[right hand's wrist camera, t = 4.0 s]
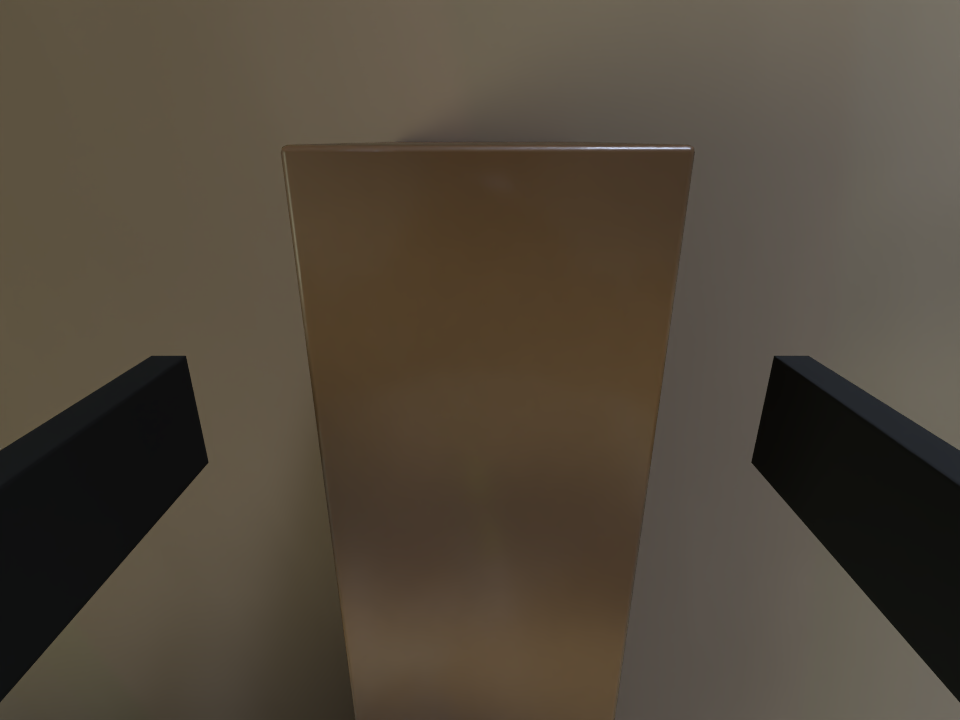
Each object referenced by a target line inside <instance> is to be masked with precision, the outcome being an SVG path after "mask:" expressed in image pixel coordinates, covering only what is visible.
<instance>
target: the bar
mask: <svg viewBox="0 0 960 720" xmlns="http://www.w3.org/2000/svg"><path fill="white" fill-rule="evenodd" d="M694 153H695V152H694V148H693V147H692V146H690V145H672V144H631V143H591V142H378V143H340V144H303V145H286V146H284V147H282V151H281V156H282V164H283V172H284V179H285V187H286V195H287V202H288V210H289V217H290V225H291V233H292V240H293V248H294V256H295V263H296V271H297V279H298V286H299V294H300V302H301V309H302V317H303V324H304V332H305V340H306V347H307V355H308V363H309V370H310V378H311V386H312V393H313V401H314V408H315V416H316V424H317V431H318V439H319V447H320V454H321V462H322V470H323V477H324V485H325V493H326V500H327V508H328V515H329V523H330V531H331V538H332V546H333V554H334V561H335V569H336V577H337V584H338V592H339V600H340V607H341V615H342V622H343V630H344V638H345V645H346V653H347V661H348V668H349V676H350V684H351V691H352V699H353V706H354V714H355V720H615V713H616V706H617V699H618V692H619V685H620V678H621V671H622V663H623V656H624V649H625V642H626V635H627V628H628V621H629V614H630V607H631V600H632V593H633V585H634V578H635V571H636V564H637V557H638V550H639V543H640V536H641V529H642V522H643V515H644V507H645V500H646V493H647V486H648V479H649V472H650V465H651V458H652V451H653V444H654V437H655V430H656V422H657V415H658V408H659V401H660V394H661V387H662V380H663V373H664V366H665V359H666V352H667V344H668V337H669V330H670V323H671V316H672V309H673V302H674V295H675V288H676V281H677V274H678V266H679V259H680V252H681V245H682V238H683V231H684V224H685V217H686V210H687V203H688V196H689V189H690V181H691V174H692V167H693V160H694Z"/></svg>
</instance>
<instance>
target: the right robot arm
mask: <svg viewBox="0 0 960 720" xmlns="http://www.w3.org/2000/svg"><path fill="white" fill-rule="evenodd" d="M208 463H209V462H208V458H207V453H206V448H205V444H204V439H203V434H202V430H201V425H200V420H199V415H198V411H197V406H196V401H195V397H194V392H193V387H192V383H191V378H190V373H189V368H188V364H187V359H186V356H151V357H149V358H147V359H146V360H144V361H143V362H141V363H139V364H138V365H136V366H135V367H133V368H131V369H130V370H128V371H127V372H125V373H123V374H122V375H120V376H119V377H117V378H115V379H114V380H112V381H111V382H109V383H108V384H106V385H104V386H103V387H101V388H100V389H98V390H96V391H95V392H93V393H92V394H90V395H88V396H87V397H85V398H84V399H82V400H80V401H79V402H77V403H76V404H74V405H72V406H71V407H69V408H68V409H66V410H64V411H63V412H61V413H60V414H58V415H56V416H55V417H53V418H52V419H50V420H48V421H47V422H45V423H44V424H42V425H41V426H39V427H37V428H36V429H34V430H33V431H31V432H29V433H28V434H26V435H25V436H23V437H21V438H20V439H18V440H17V441H15V442H13V443H12V444H10V445H9V446H7V447H5V448H4V449H2V450H1V451H0V702H1V701H2V700H3V698H4V697H5V696H6V695H7V694H8V693H9V692H10V690H11V689H12V688H13V687H14V686H15V685H16V684H17V682H18V681H19V680H20V679H21V678H22V677H23V675H24V674H25V673H26V672H27V671H28V670H29V669H30V667H31V666H32V665H33V664H34V663H35V662H36V660H37V659H38V658H39V657H40V656H41V655H42V654H43V652H44V651H45V650H46V649H47V648H48V647H49V646H50V644H51V643H52V642H53V641H54V640H55V639H56V637H57V636H58V635H59V634H60V633H61V632H62V631H63V629H64V628H65V627H66V626H67V625H68V624H69V623H70V621H71V620H72V619H73V618H74V617H75V616H76V614H77V613H78V612H79V611H80V610H81V609H82V608H83V606H84V605H85V604H86V603H87V602H88V601H89V599H90V598H91V597H92V596H93V595H94V594H95V593H96V591H97V590H98V589H99V588H100V587H101V586H102V585H103V583H104V582H105V581H106V580H107V579H108V578H109V576H110V575H111V574H112V573H113V572H114V571H115V570H116V568H117V567H118V566H119V565H120V564H121V563H122V562H123V560H124V559H125V558H126V557H127V556H128V555H129V553H130V552H131V551H132V550H133V549H134V548H135V547H136V545H137V544H138V543H139V542H140V541H141V540H142V538H143V537H144V536H145V535H146V534H147V533H148V532H149V530H150V529H151V528H152V527H153V526H154V525H155V524H156V522H157V521H158V520H159V519H160V518H161V517H162V515H163V514H164V513H165V512H166V511H167V510H168V509H169V507H170V506H171V505H172V504H173V503H174V502H175V501H176V499H177V498H178V497H179V496H180V495H181V494H182V492H183V491H184V490H185V489H186V488H187V487H188V486H189V484H190V483H191V482H192V481H193V480H194V479H195V477H196V476H197V475H198V474H199V473H200V472H201V471H202V469H203V468H204V467H205V466H206V465H207V464H208ZM751 463H752V464H753V465H754V466H755V467H756V468H757V469H758V471H759V472H760V473H761V474H762V475H763V476H764V477H765V479H766V480H767V481H768V482H769V483H770V484H771V486H772V487H773V488H774V489H775V490H776V491H777V492H778V494H779V495H780V496H781V497H782V498H783V499H784V501H785V502H786V503H787V504H788V505H789V506H790V507H791V509H792V510H793V511H794V512H795V513H796V514H797V515H798V517H799V518H800V519H801V520H802V521H803V522H804V524H805V525H806V526H807V527H808V528H809V529H810V530H811V532H812V533H813V534H814V535H815V536H816V537H817V538H818V540H819V541H820V542H821V543H822V544H823V545H824V547H825V548H826V549H827V550H828V551H829V552H830V553H831V555H832V556H833V557H834V558H835V559H836V560H837V562H838V563H839V564H840V565H841V566H842V567H843V568H844V570H845V571H846V572H847V573H848V574H849V575H850V576H851V578H852V579H853V580H854V581H855V582H856V583H857V585H858V586H859V587H860V588H861V589H862V590H863V591H864V593H865V594H866V595H867V596H868V597H869V598H870V599H871V601H872V602H873V603H874V604H875V605H876V606H877V608H878V609H879V610H880V611H881V612H882V613H883V614H884V616H885V617H886V618H887V619H888V620H889V621H890V623H891V624H892V625H893V626H894V627H895V628H896V629H897V631H898V632H899V633H900V634H901V635H902V636H903V637H904V639H905V640H906V641H907V642H908V643H909V644H910V646H911V647H912V648H913V649H914V650H915V651H916V652H917V654H918V655H919V656H920V657H921V658H922V659H923V660H924V662H925V663H926V664H927V665H928V666H929V667H930V669H931V670H932V671H933V672H934V673H935V674H936V675H937V677H938V678H939V679H940V680H941V681H942V682H943V684H944V685H945V686H946V687H947V688H948V689H949V690H950V692H951V693H952V694H953V695H954V696H955V697H956V698H957V700H958V701H959V702H960V451H959V450H958V449H956V448H955V447H953V446H951V445H950V444H948V443H947V442H945V441H943V440H942V439H940V438H939V437H937V436H935V435H934V434H932V433H931V432H929V431H927V430H926V429H924V428H923V427H921V426H919V425H918V424H916V423H915V422H913V421H912V420H910V419H908V418H907V417H905V416H904V415H902V414H900V413H899V412H897V411H896V410H894V409H892V408H891V407H889V406H888V405H886V404H884V403H883V402H881V401H880V400H878V399H876V398H875V397H873V396H872V395H870V394H868V393H867V392H865V391H864V390H862V389H860V388H859V387H857V386H856V385H854V384H852V383H851V382H849V381H848V380H846V379H845V378H843V377H841V376H840V375H838V374H837V373H835V372H833V371H832V370H830V369H829V368H827V367H825V366H824V365H822V364H821V363H819V362H817V361H816V360H814V359H813V358H811V357H809V356H774V359H773V364H772V368H771V373H770V378H769V383H768V387H767V392H766V397H765V401H764V406H763V411H762V415H761V420H760V425H759V429H758V434H757V439H756V444H755V448H754V453H753V458H752V462H751Z"/></svg>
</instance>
